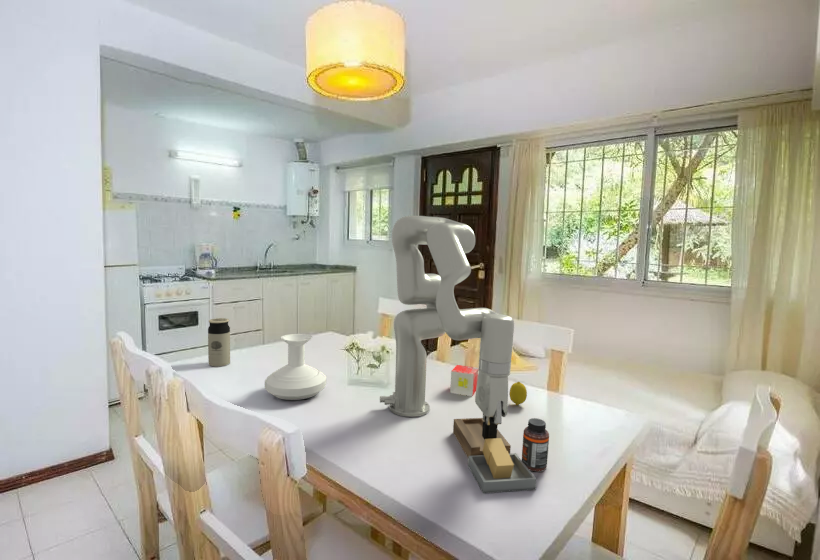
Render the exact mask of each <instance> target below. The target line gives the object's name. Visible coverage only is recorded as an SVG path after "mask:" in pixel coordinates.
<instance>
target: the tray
mask: <svg viewBox="0 0 820 560" xmlns="http://www.w3.org/2000/svg"><path fill="white" fill-rule="evenodd" d="M509 455H510V457H511V460H512V462H513V464H514V467H513V470H512V474H511V478H497V479H494V478H493V475H492V473H491V470H490V467H489V465H488V464H487V462H486V459H485V456H484V455H475V456H468V458H467V459H468V460H467V467H468V468H469V470H470V472H471V474H472V475H473V477H474V480H475V482H477V485H478V486H479V489H480V490H481V492H482V493H483V494H494V493H507V492H521V491H533V490H534V491H536V490H537V477H536V476H535V475H534V474H533V473H532V471H531V470H529V469H528V468H527V467H526V465H525V464H524V463H523V462H522V458H520V456H519V455H518V454H517V453H516V452H515V453H511V452H510V454H509Z"/></svg>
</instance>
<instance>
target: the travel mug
mask: <svg viewBox="0 0 820 560" xmlns="http://www.w3.org/2000/svg"><path fill="white" fill-rule="evenodd" d="M229 322H230V319H229V318H226V317H225V318H224V317H220V318H218V317H216V318H210V319H209V320H208V323H209V326H208V328H207V345H208V346H207V347H208V349H207V350H208V351H207V353H208V359H207V361H208V365H209V366H211V367H217V368H219V367H225V366H228V365H229V364H231V326H229Z"/></svg>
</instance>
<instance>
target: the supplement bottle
mask: <svg viewBox="0 0 820 560" xmlns="http://www.w3.org/2000/svg"><path fill="white" fill-rule="evenodd" d="M546 428H547V424H546V421H545V420H544V419H540V418H535V417H534V418H529V419H528V424H527V426H526V427H525V428H524V429H523V434H522V449H521V460H522V462H523V463H524V464H525V465H526V467H527V468H528V469H529V470H530V472H536V473H538V472H539V473H540V472H543V471H545V470H546V469H547V467H548V457H549V456H548V454H549V444H550V433H549V431H548V430H547V429H546Z"/></svg>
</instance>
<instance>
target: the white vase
mask: <svg viewBox="0 0 820 560" xmlns="http://www.w3.org/2000/svg"><path fill="white" fill-rule="evenodd" d="M312 338H313V336H312V335H310V334H307V333H291V334H285V335H282V336H280V339H281V341H283V342H284V343H286V344H287V364H286V365H284V366H282V367H280V368H278V369H276V370H275V371H273V372H272V373H271V374H270V375H268V376H267V377H266V378H265V380H264V389H265V390H266V392H267V393H269V394H271V396H274V397H275V398H277V399H279V400H286V401H299V400H305V399H309V398H313V397H314V396H316V395H317V394H319V393H320V392H321V391H323V389H325V388H326V385H327V375H325V374H324V373H323V372H322V371H320V370H318V369H317V368H315V367H314V366H311V365H309V364H307V363H306V361H305V358H306V357H305V356H306V355H305V354H306V353H305V352H306V351H305V349H306V347H305V346H306V344H307V343H308V342H309V341H311V340H312Z"/></svg>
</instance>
